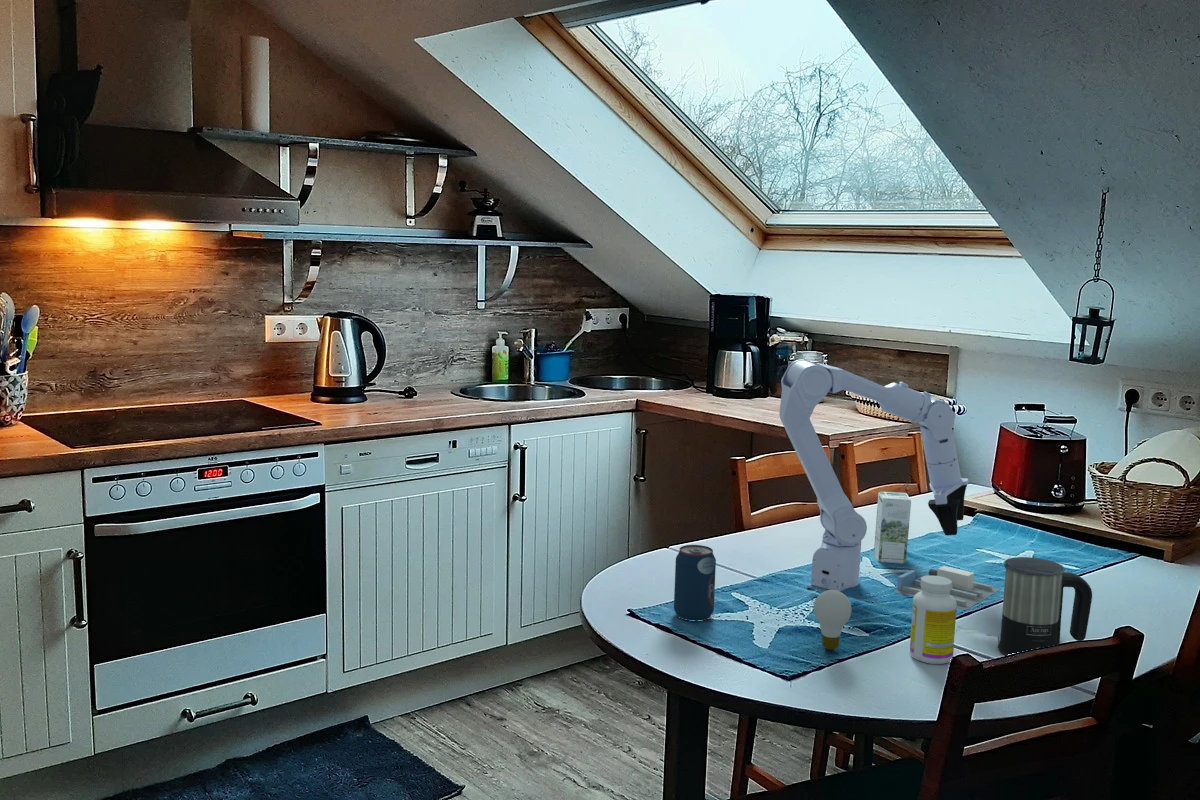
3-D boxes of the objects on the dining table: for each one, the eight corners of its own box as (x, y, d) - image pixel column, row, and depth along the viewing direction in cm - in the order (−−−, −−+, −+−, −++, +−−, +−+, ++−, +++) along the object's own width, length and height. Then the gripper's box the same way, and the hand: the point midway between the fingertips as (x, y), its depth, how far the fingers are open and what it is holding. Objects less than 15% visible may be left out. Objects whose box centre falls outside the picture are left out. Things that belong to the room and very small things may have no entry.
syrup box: (901, 559, 224) (906, 491, 222) (906, 568, 218) (911, 498, 216) (873, 558, 225) (877, 490, 222) (877, 566, 219) (882, 497, 217)
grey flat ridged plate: (965, 615, 192) (966, 596, 191) (892, 596, 201) (893, 578, 200) (1000, 594, 204) (1001, 576, 203) (929, 577, 213) (930, 560, 212)
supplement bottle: (961, 661, 171) (968, 583, 169) (931, 668, 167) (938, 589, 166) (929, 646, 176) (935, 571, 175) (900, 653, 173) (905, 576, 171)
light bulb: (843, 643, 177) (847, 585, 175) (852, 657, 171) (856, 597, 169) (807, 643, 177) (811, 584, 175) (815, 657, 171) (819, 596, 169)
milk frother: (1020, 666, 169) (1028, 575, 167) (960, 630, 184) (967, 546, 182) (1096, 658, 173) (1105, 569, 171) (1031, 624, 188) (1039, 541, 186)
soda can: (718, 622, 185) (721, 554, 183) (679, 624, 184) (682, 556, 182) (706, 608, 192) (709, 543, 190) (668, 610, 190) (671, 544, 189)
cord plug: (967, 591, 202) (968, 576, 201) (926, 581, 207) (927, 566, 206) (973, 588, 204) (974, 572, 203) (932, 578, 209) (933, 563, 208)
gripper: (957, 469, 196) (970, 540, 198) (969, 445, 208) (981, 512, 210) (918, 473, 199) (931, 542, 201) (932, 449, 211) (944, 514, 214)
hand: (954, 527), depth 206 cm, fingers open, 7 cm apart
